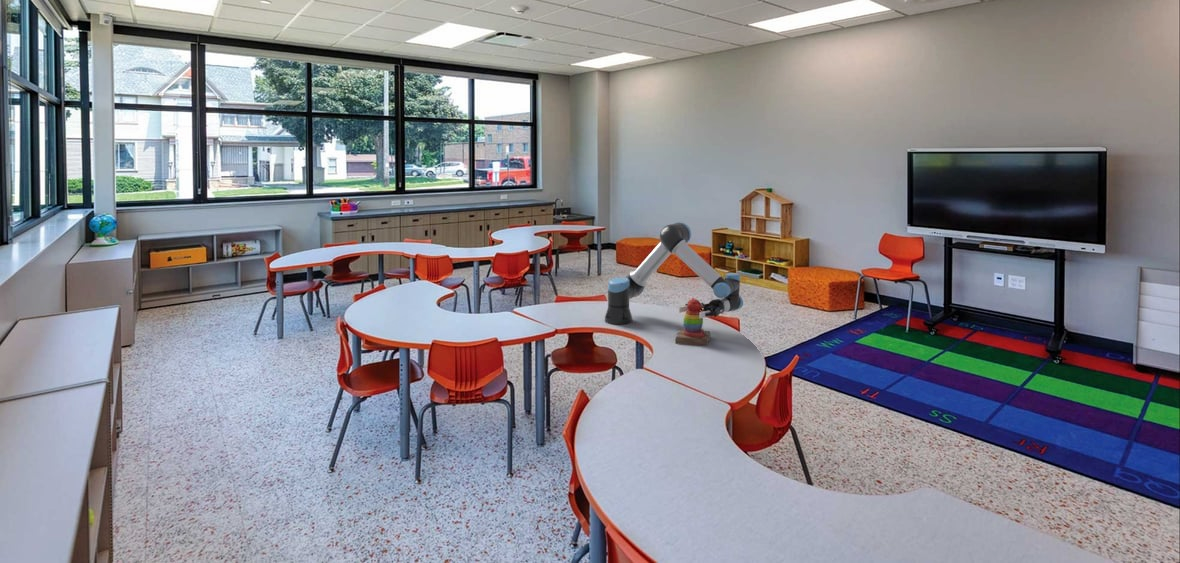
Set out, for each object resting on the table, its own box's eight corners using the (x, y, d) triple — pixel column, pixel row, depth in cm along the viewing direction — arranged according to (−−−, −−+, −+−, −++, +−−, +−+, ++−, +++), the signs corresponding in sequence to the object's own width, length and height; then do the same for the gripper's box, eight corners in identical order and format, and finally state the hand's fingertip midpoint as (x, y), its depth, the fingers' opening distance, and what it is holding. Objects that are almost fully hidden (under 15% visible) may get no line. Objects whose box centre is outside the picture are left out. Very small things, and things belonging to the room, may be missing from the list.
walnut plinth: (680, 334, 310) (680, 329, 309) (710, 337, 305) (710, 331, 305) (675, 343, 296) (675, 337, 295) (706, 345, 291) (707, 339, 291)
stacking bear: (703, 338, 294) (705, 302, 290) (682, 337, 296) (683, 301, 292) (704, 331, 304) (705, 297, 300) (683, 330, 306) (684, 296, 302)
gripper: (738, 318, 299) (708, 325, 287) (700, 308, 319) (671, 314, 306) (738, 303, 298) (709, 310, 285) (700, 294, 317) (671, 300, 305)
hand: (689, 312), depth 296 cm, fingers open, 13 cm apart
